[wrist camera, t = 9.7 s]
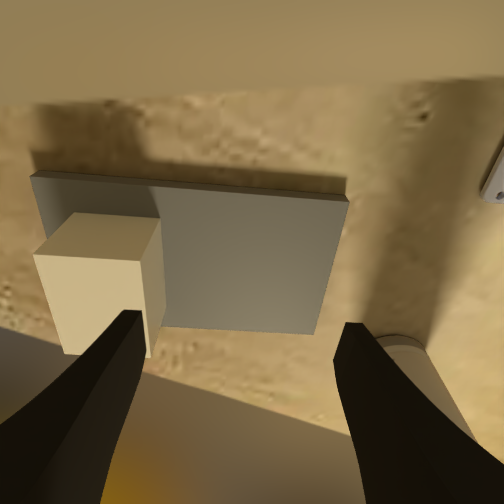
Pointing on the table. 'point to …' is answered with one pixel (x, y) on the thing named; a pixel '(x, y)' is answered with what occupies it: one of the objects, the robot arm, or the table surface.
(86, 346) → the cream rectangular block
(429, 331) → the table surface
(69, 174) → the board
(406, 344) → the travel mug
